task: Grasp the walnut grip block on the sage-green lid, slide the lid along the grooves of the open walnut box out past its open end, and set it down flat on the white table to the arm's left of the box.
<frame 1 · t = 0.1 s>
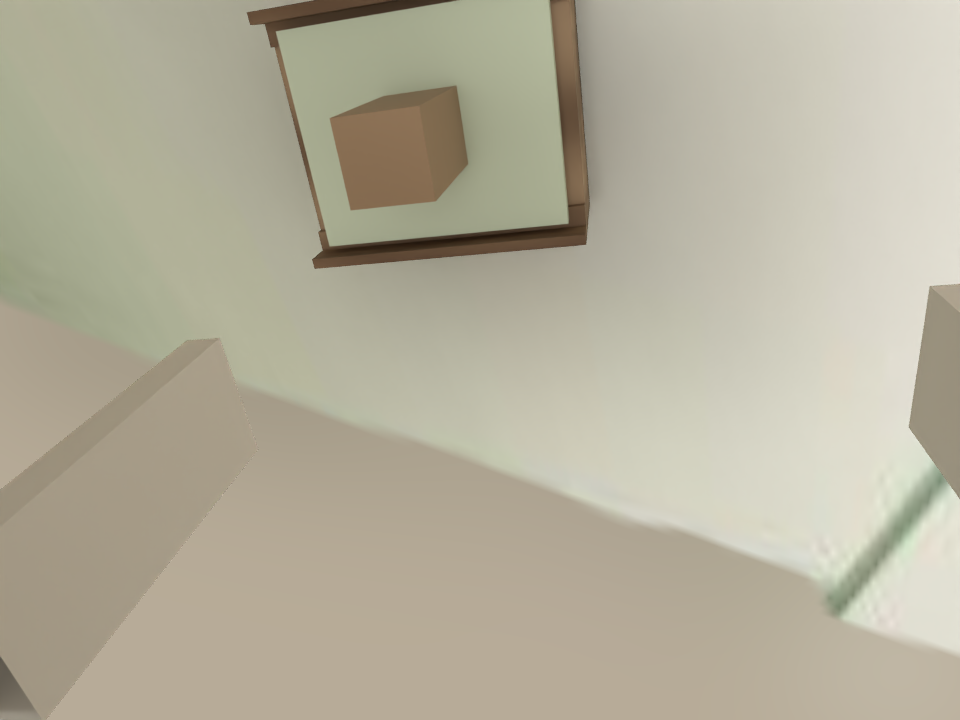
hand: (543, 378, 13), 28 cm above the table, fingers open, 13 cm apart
lid: (430, 127, 33), point 6 cm above the table, touching walnut box
walnut box: (454, 110, 38), on the table
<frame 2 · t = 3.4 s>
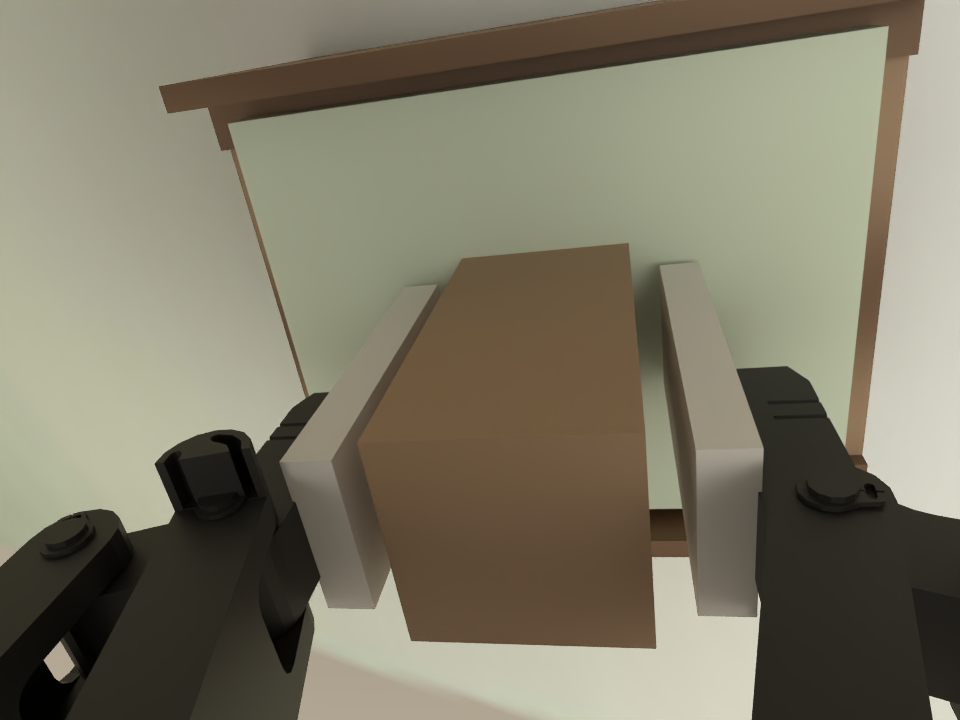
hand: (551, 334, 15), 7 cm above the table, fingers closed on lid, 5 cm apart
lid: (554, 312, 16), point 6 cm above the table, touching gripper, walnut box
walnut box: (567, 234, 21), on the table
when the fingers open (7 cm above the table, at t = 3.8 s): lid moves 7 cm, resting on walnut box.
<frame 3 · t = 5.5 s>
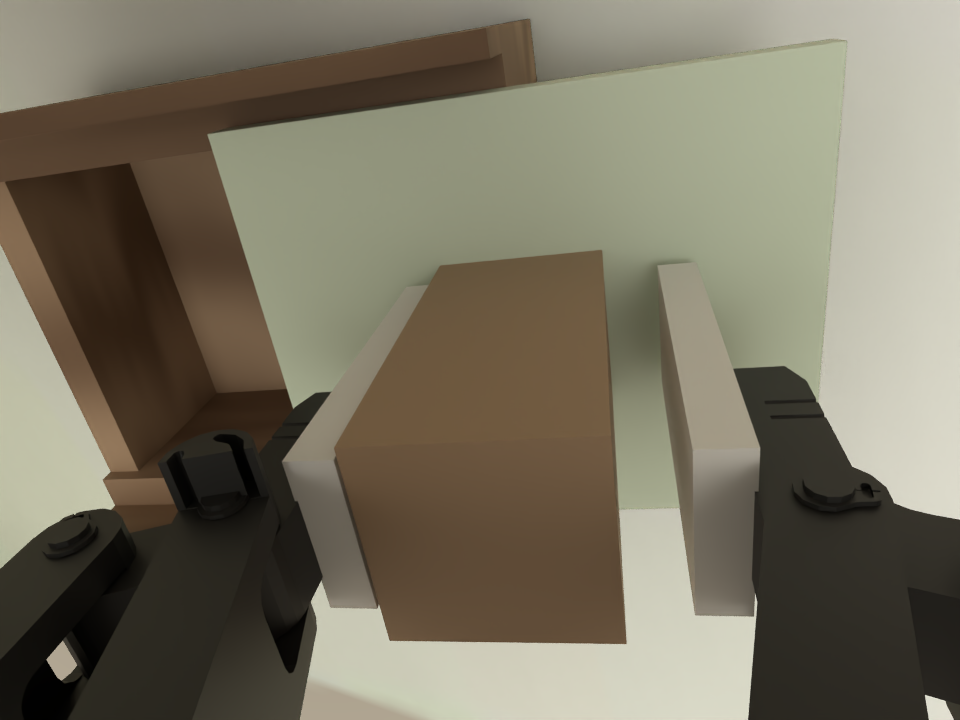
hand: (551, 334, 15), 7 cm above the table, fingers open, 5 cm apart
lid: (531, 317, 16), point 6 cm above the table, touching gripper, walnut box
walnut box: (344, 254, 23), on the table
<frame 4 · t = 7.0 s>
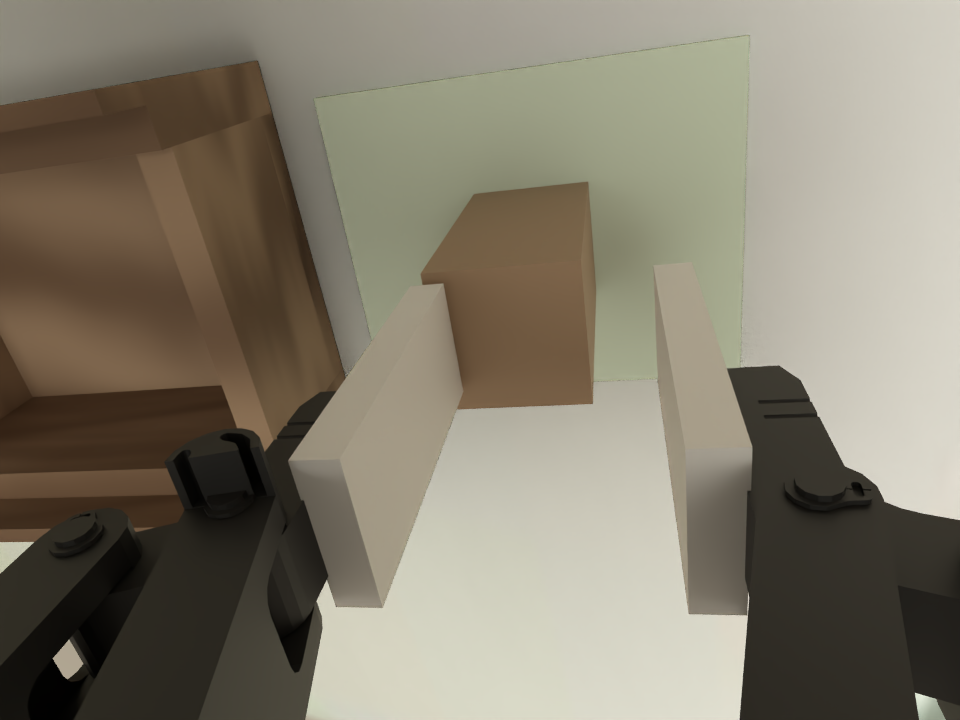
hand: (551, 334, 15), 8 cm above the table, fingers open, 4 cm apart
lid: (538, 235, 22), on the table, touching gripper
walnut box: (131, 270, 25), on the table
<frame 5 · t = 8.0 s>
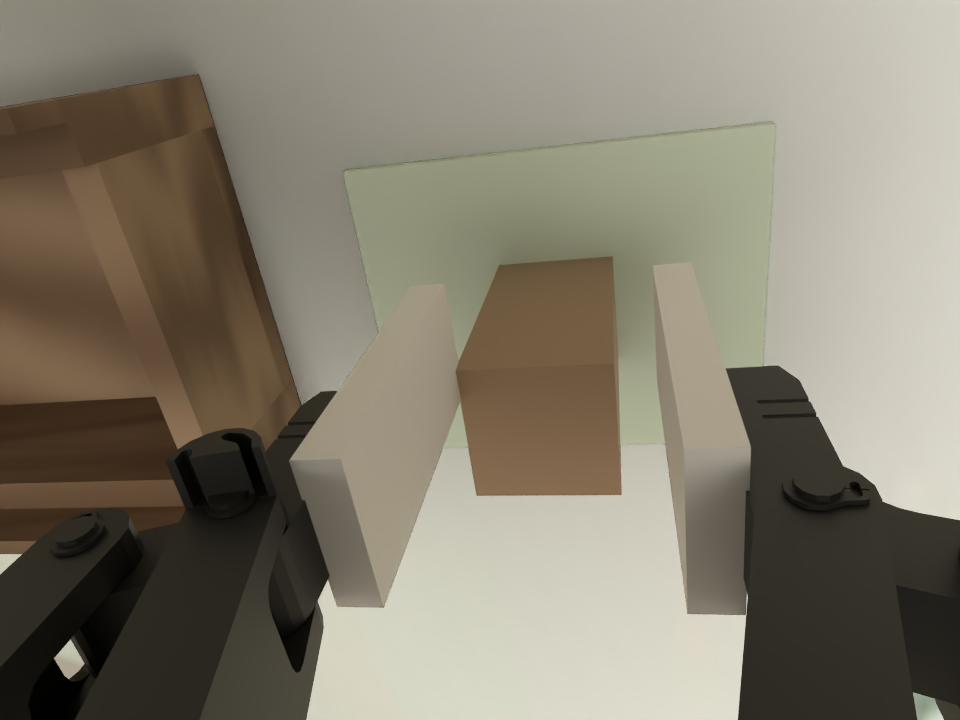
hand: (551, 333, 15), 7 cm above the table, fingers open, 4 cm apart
lid: (561, 303, 22), on the table, touching gripper
walnut box: (81, 280, 25), on the table
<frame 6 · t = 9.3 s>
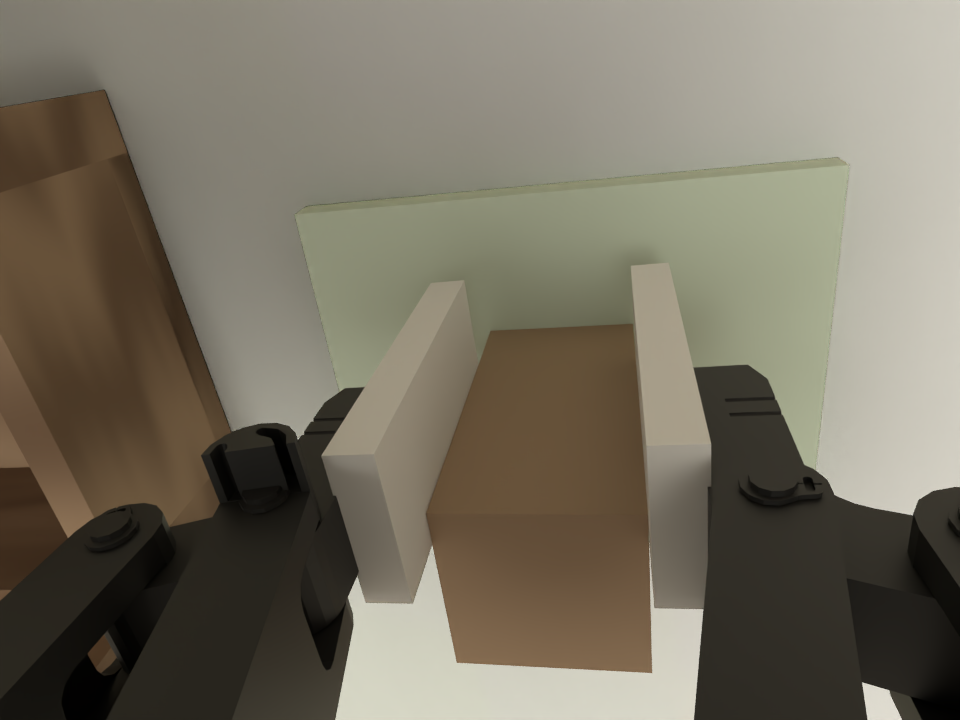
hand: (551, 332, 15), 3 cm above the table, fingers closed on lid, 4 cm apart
lid: (566, 374, 18), on the table, touching gripper
when the fingers open (3 cm above the table, at t = 9.3 s): lid stays where it is, on the table.
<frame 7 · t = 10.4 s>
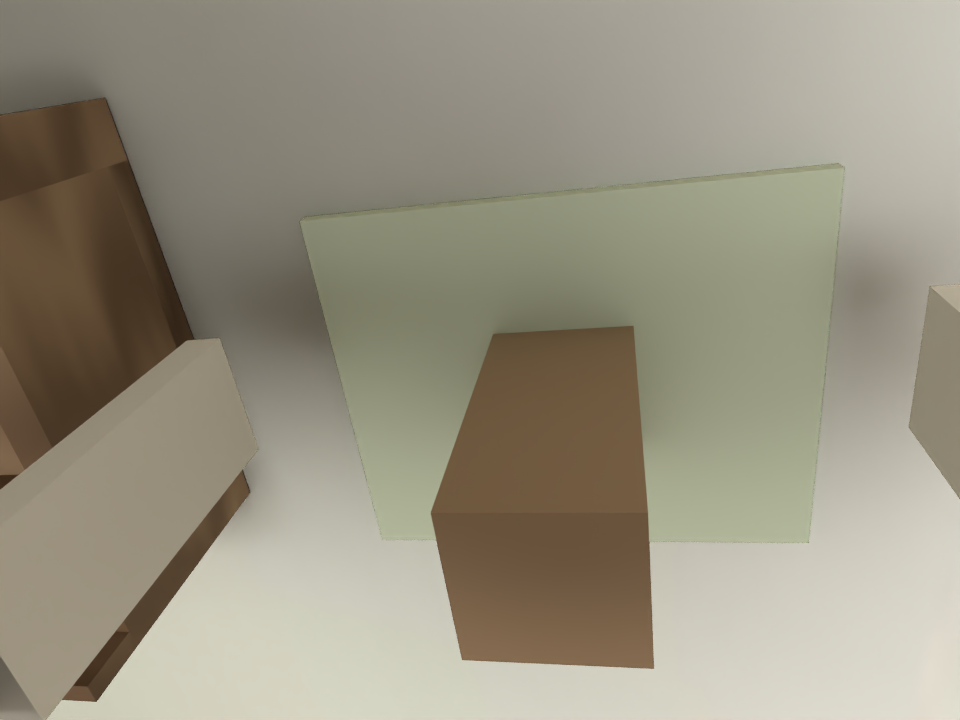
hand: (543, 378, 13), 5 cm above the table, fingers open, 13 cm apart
lid: (569, 376, 18), on the table
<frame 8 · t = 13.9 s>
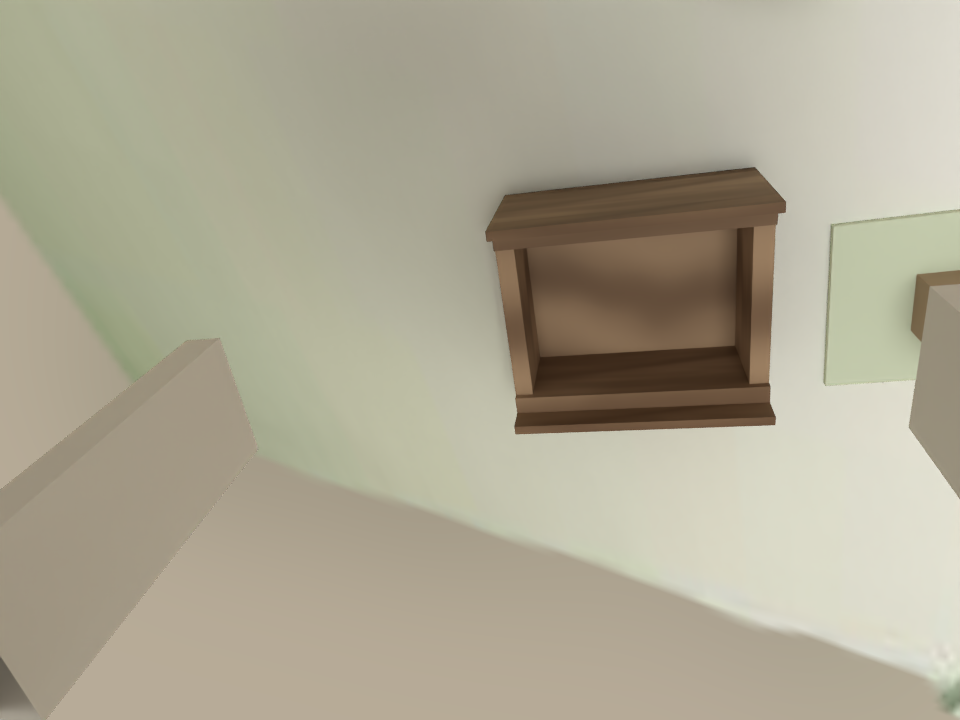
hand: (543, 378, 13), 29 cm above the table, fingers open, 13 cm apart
lid: (941, 294, 39), on the table
walnut box: (630, 280, 42), on the table
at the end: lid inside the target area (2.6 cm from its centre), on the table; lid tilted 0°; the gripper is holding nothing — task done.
